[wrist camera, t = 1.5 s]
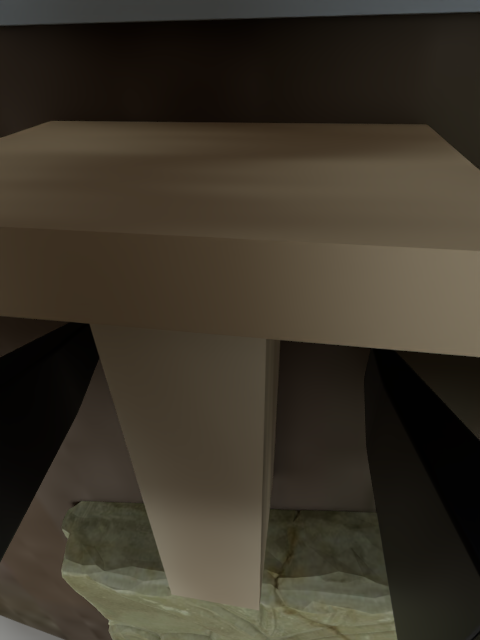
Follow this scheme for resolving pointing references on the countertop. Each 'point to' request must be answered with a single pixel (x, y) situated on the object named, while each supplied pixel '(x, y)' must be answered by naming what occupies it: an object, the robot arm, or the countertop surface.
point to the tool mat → (212, 10)
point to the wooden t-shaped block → (232, 290)
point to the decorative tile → (226, 620)
